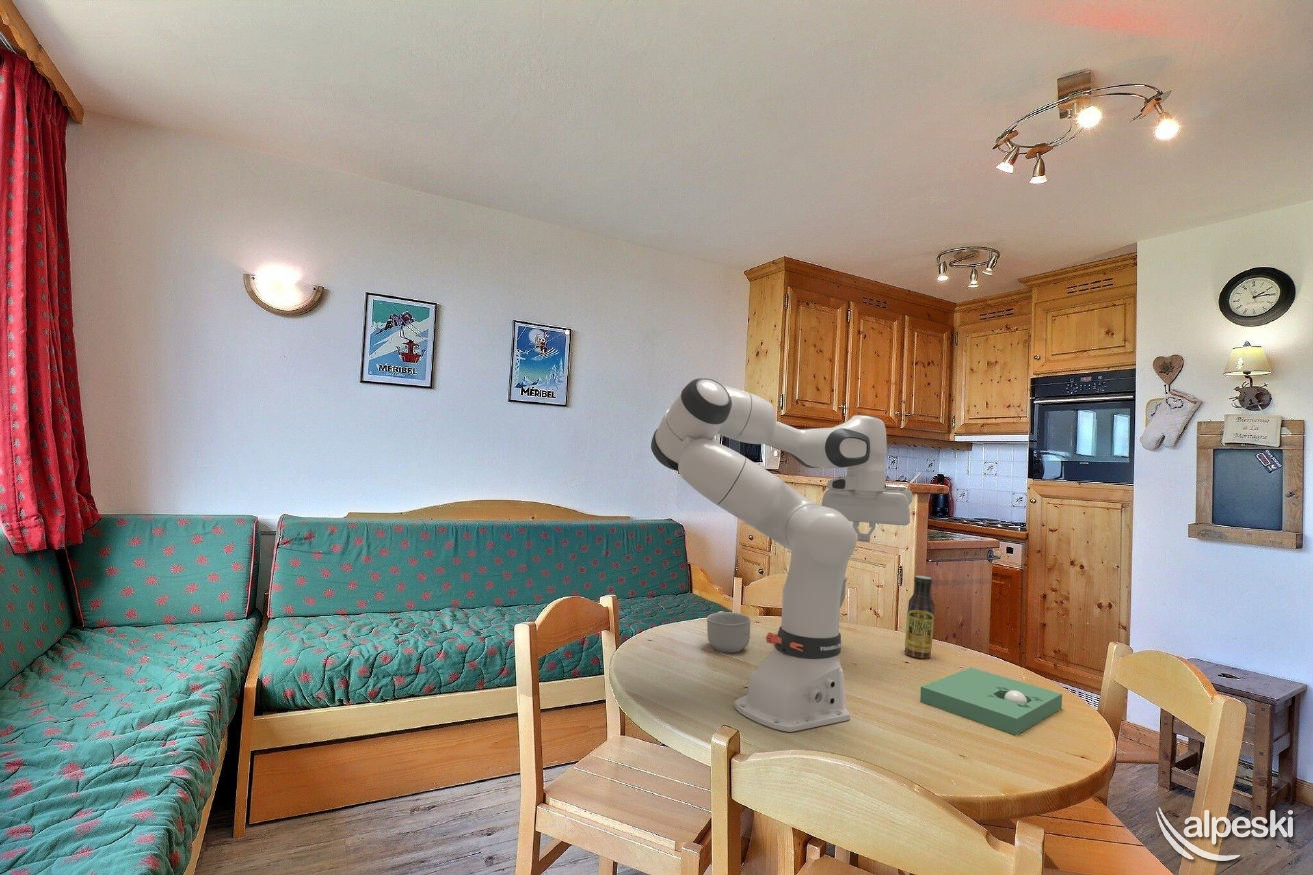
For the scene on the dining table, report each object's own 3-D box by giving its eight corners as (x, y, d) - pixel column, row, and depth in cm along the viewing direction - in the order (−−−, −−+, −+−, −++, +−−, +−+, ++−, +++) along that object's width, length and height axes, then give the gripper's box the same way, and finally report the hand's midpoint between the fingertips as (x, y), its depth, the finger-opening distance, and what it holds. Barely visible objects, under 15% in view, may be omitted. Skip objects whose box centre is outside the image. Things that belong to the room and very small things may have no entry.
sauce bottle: (904, 657, 154) (907, 577, 154) (904, 650, 159) (906, 573, 160) (933, 661, 151) (936, 580, 152) (931, 654, 157) (934, 576, 158)
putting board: (1016, 735, 111) (1016, 718, 111) (920, 701, 125) (920, 686, 125) (1061, 708, 124) (1062, 693, 125) (970, 680, 139) (970, 667, 139)
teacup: (752, 657, 148) (753, 623, 148) (706, 654, 148) (708, 621, 148) (744, 640, 162) (745, 609, 162) (703, 637, 162) (704, 607, 162)
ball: (1034, 698, 121) (1013, 692, 124) (1023, 690, 119) (1003, 684, 123) (1028, 718, 119) (1008, 711, 123) (1017, 710, 118) (997, 703, 121)
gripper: (912, 485, 146) (910, 544, 146) (823, 480, 154) (821, 536, 154) (912, 486, 141) (910, 547, 140) (820, 481, 148) (818, 539, 148)
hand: (863, 541), depth 147 cm, fingers closed
